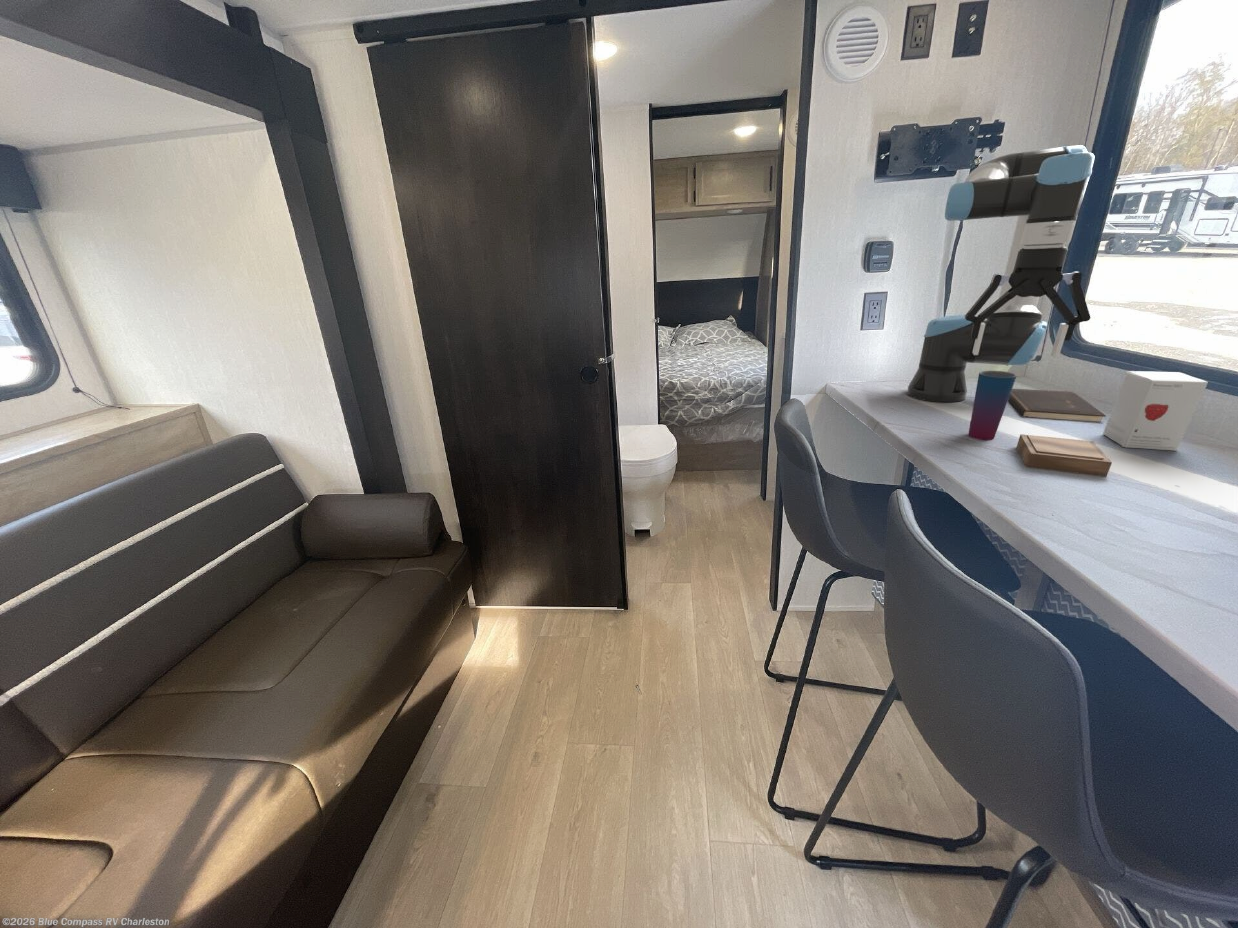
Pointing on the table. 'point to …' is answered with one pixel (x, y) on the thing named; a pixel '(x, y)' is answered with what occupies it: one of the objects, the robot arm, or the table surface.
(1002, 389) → the cup
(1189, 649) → the table surface
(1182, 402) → the supplement box
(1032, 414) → the hardcover book
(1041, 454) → the pedestal
